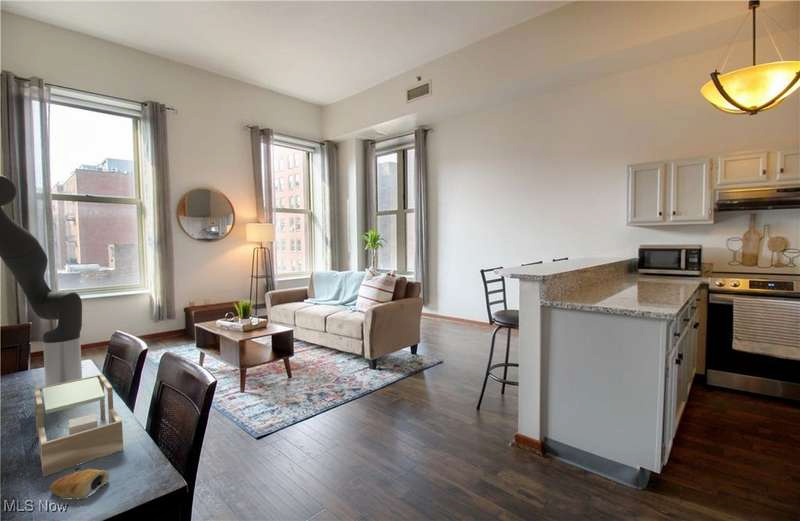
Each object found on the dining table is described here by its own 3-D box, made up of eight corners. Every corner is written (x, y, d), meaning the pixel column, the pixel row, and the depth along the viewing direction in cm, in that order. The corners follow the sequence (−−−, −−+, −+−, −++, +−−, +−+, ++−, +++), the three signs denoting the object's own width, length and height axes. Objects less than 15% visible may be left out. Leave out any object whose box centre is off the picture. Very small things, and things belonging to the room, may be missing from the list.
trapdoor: (42, 392, 94) (42, 388, 94) (97, 380, 102) (97, 376, 102) (45, 413, 87) (45, 410, 87) (104, 399, 95) (104, 395, 95)
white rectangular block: (68, 427, 83) (70, 462, 83) (97, 420, 86) (99, 453, 87) (69, 419, 87) (70, 452, 87) (96, 413, 90) (98, 445, 91)
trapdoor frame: (36, 436, 95) (34, 388, 94) (104, 417, 105) (102, 374, 104) (43, 476, 78) (40, 419, 78) (123, 449, 88) (121, 398, 88)
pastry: (38, 501, 71) (37, 482, 71) (71, 479, 78) (70, 461, 78) (85, 502, 71) (84, 483, 71) (114, 480, 77) (113, 462, 77)
